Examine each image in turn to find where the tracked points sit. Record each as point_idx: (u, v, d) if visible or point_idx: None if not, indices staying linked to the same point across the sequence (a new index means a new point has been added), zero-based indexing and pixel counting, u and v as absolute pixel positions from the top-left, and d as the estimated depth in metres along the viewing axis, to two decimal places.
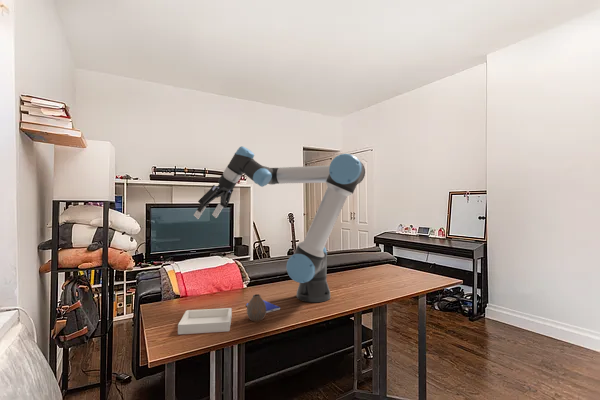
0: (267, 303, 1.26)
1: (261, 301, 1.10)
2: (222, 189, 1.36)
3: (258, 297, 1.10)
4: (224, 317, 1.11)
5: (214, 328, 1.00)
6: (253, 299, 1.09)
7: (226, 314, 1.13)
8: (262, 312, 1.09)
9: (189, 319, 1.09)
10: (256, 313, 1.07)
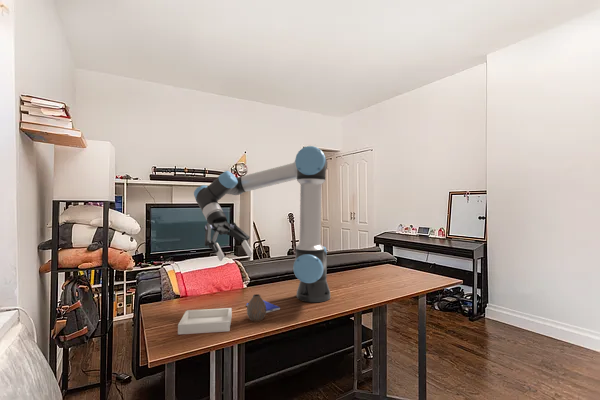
0: (267, 303, 1.26)
1: (261, 301, 1.10)
2: (216, 224, 1.24)
3: (258, 297, 1.10)
4: (224, 317, 1.11)
5: (214, 328, 1.00)
6: (253, 299, 1.10)
7: (226, 314, 1.13)
8: (262, 312, 1.09)
9: (189, 319, 1.09)
10: (256, 313, 1.07)
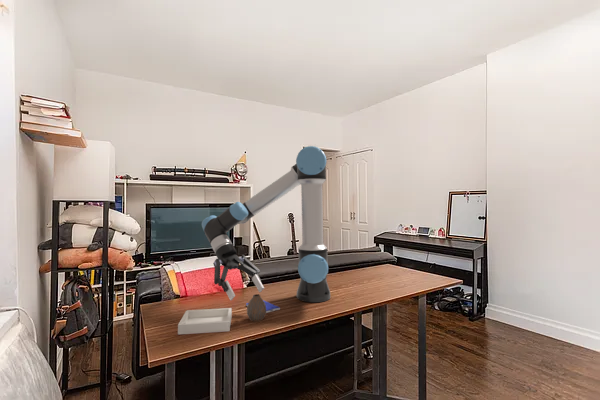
0: (267, 303, 1.26)
1: (261, 301, 1.10)
2: (226, 258, 1.18)
3: (258, 297, 1.10)
4: (224, 317, 1.11)
5: (214, 328, 1.00)
6: (253, 299, 1.09)
7: (226, 314, 1.13)
8: (262, 312, 1.09)
9: (189, 319, 1.09)
10: (256, 313, 1.07)
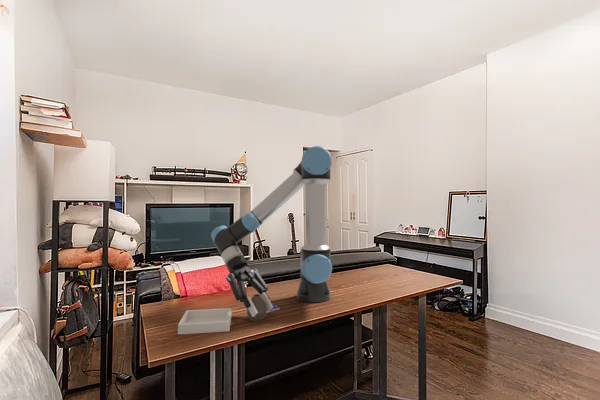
0: None
1: (261, 301, 1.10)
2: (236, 270, 1.15)
3: (258, 297, 1.10)
4: (224, 317, 1.11)
5: (214, 328, 1.00)
6: (253, 299, 1.10)
7: (226, 314, 1.13)
8: (262, 311, 1.09)
9: (189, 319, 1.09)
10: None
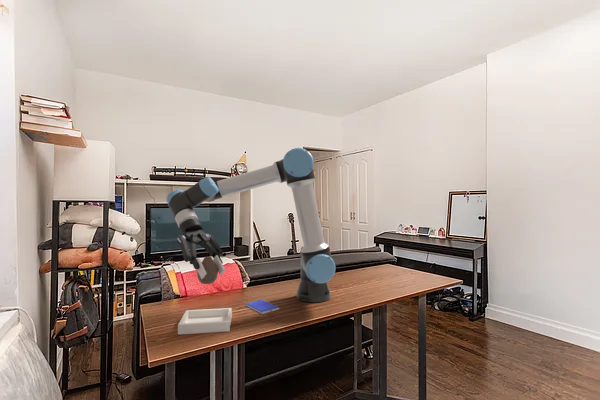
0: (266, 303, 1.26)
1: (212, 263, 1.05)
2: (189, 232, 1.10)
3: (209, 259, 1.05)
4: (224, 317, 1.11)
5: (214, 328, 1.00)
6: (203, 261, 1.05)
7: (226, 314, 1.13)
8: (213, 274, 1.04)
9: (189, 319, 1.09)
10: (206, 275, 1.03)
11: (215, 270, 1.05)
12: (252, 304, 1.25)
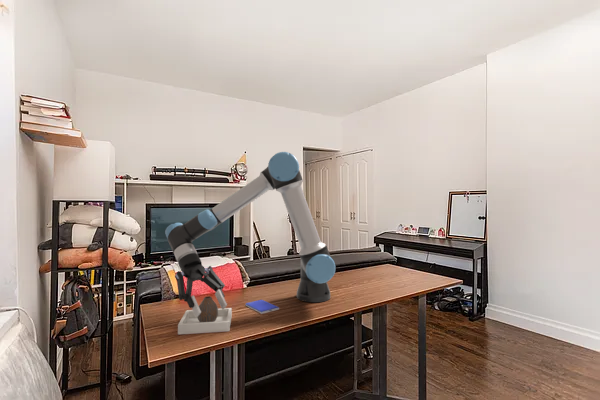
0: (266, 303, 1.26)
1: (212, 303, 1.05)
2: (188, 268, 1.10)
3: (209, 299, 1.05)
4: (224, 317, 1.11)
5: (214, 328, 1.00)
6: (203, 301, 1.05)
7: (226, 314, 1.13)
8: (212, 314, 1.04)
9: (189, 319, 1.09)
10: (206, 316, 1.03)
11: (215, 310, 1.05)
12: (252, 304, 1.25)
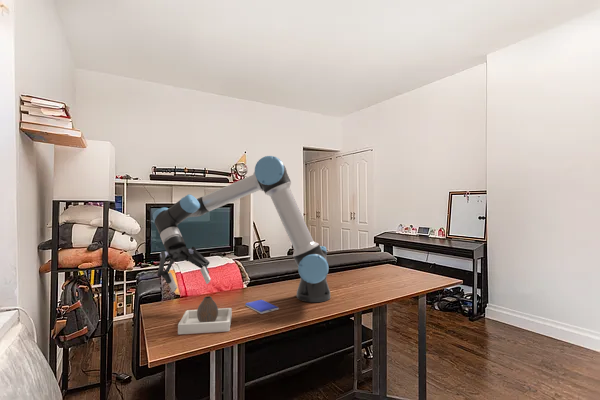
0: (266, 303, 1.26)
1: (212, 303, 1.05)
2: (173, 250, 1.19)
3: (209, 299, 1.05)
4: (224, 317, 1.11)
5: (214, 328, 1.00)
6: (203, 301, 1.05)
7: (226, 314, 1.13)
8: (212, 314, 1.04)
9: (189, 319, 1.09)
10: (206, 316, 1.03)
11: (215, 310, 1.05)
12: (252, 304, 1.25)
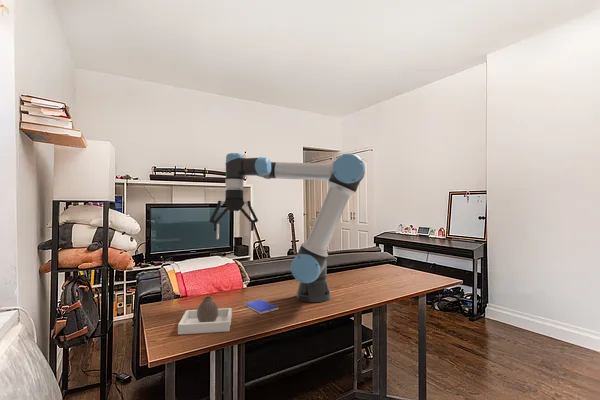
0: (266, 303, 1.26)
1: (212, 303, 1.05)
2: (229, 201, 1.31)
3: (209, 299, 1.05)
4: (224, 317, 1.11)
5: (214, 328, 1.00)
6: (203, 301, 1.05)
7: (226, 314, 1.13)
8: (212, 314, 1.04)
9: (189, 319, 1.09)
10: (206, 316, 1.03)
11: (215, 310, 1.05)
12: (251, 304, 1.25)
